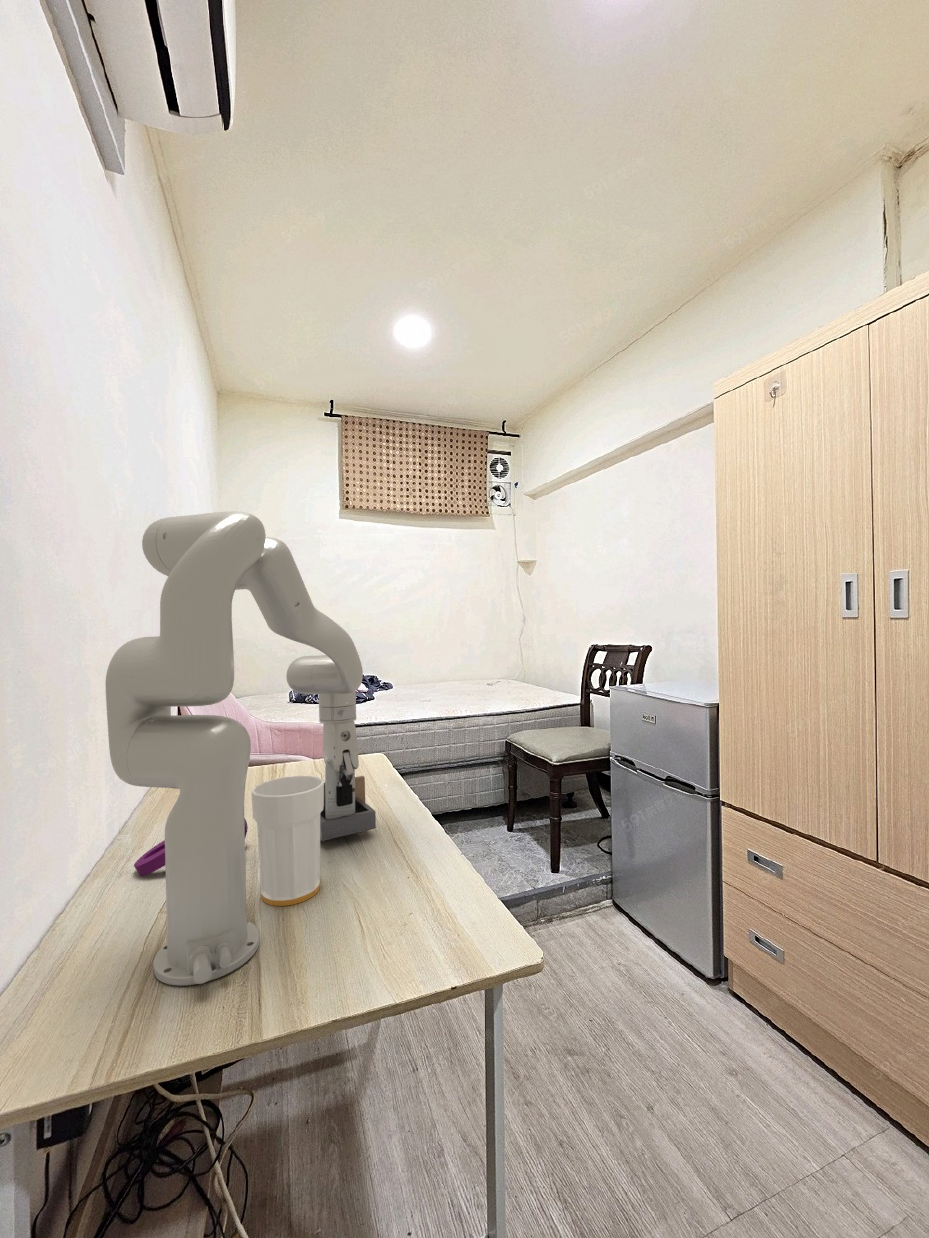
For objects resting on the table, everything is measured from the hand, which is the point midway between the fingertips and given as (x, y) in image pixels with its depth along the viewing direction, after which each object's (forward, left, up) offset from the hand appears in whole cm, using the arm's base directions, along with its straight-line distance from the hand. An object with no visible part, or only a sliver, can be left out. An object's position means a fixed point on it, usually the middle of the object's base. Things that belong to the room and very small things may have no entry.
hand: (340, 800), depth 107 cm
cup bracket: (+2, 0, -7) cm, 8 cm away
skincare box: (0, 0, -3) cm, 3 cm away
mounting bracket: (+4, +27, -8) cm, 29 cm away
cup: (-18, +14, -8) cm, 24 cm away
